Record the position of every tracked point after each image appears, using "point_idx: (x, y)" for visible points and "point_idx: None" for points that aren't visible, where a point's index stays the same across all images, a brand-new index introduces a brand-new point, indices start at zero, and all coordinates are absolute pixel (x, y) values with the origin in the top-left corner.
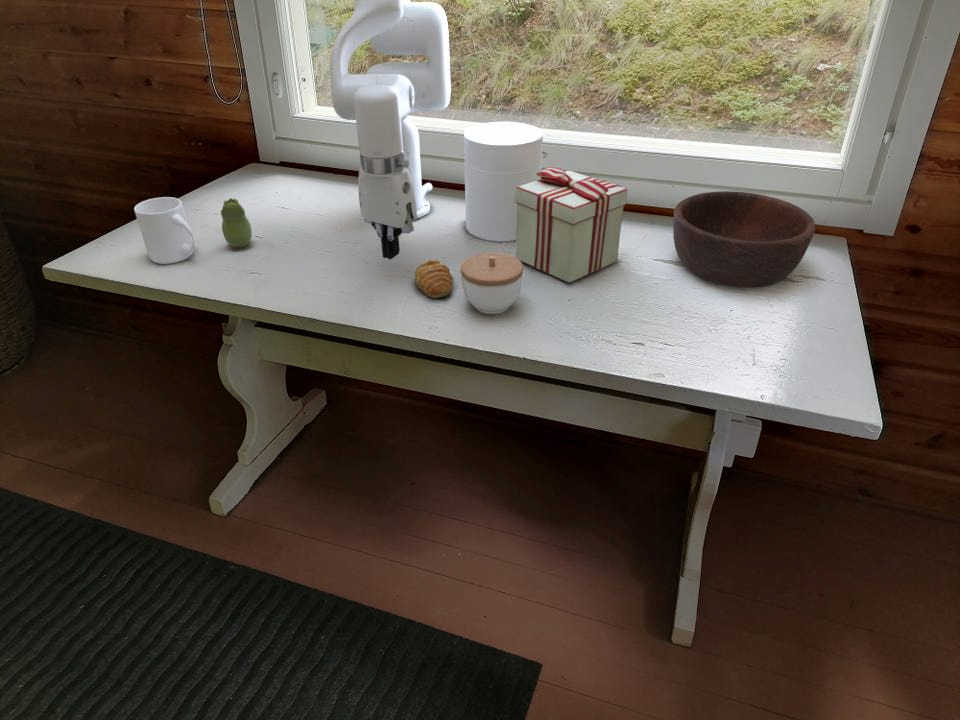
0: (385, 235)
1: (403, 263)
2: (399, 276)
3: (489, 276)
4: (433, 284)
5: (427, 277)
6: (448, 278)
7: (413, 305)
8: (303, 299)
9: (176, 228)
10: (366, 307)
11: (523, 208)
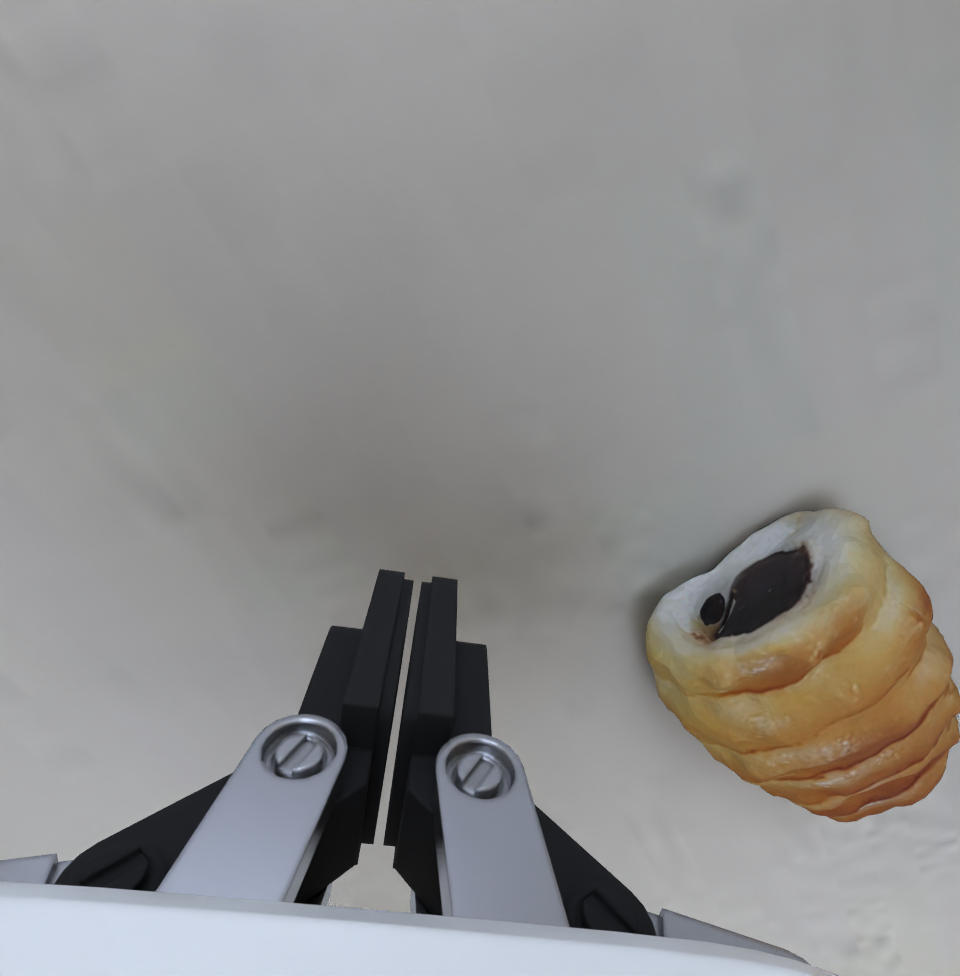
0: (354, 859)
1: (433, 419)
2: (500, 602)
3: None
4: (855, 814)
5: (807, 787)
6: (947, 725)
7: (714, 836)
8: None
9: None
10: None
11: None
